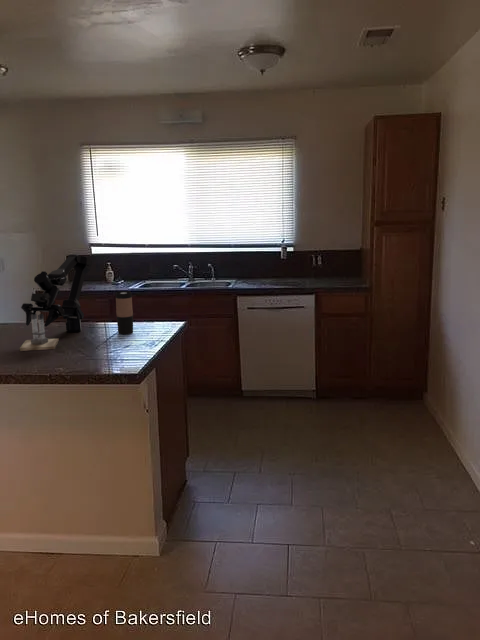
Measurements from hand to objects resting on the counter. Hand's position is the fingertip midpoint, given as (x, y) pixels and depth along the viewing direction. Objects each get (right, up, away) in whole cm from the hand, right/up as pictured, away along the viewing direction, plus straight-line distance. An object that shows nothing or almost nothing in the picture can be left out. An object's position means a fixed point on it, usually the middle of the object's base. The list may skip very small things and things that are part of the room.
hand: (36, 325), depth 230 cm
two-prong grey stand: (0, -8, +3) cm, 8 cm away
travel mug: (+34, -4, +26) cm, 42 cm away
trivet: (0, -9, +3) cm, 10 cm away
